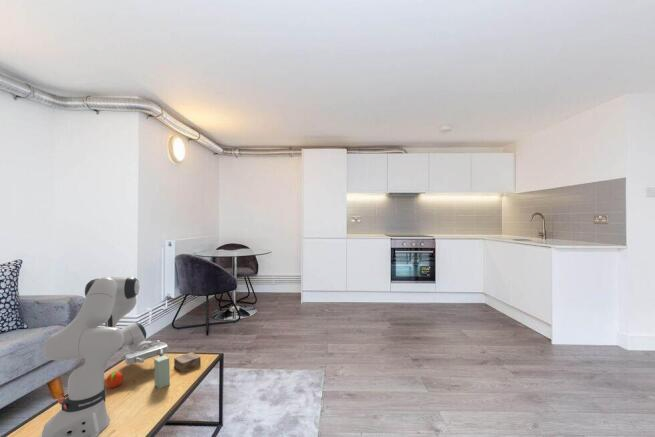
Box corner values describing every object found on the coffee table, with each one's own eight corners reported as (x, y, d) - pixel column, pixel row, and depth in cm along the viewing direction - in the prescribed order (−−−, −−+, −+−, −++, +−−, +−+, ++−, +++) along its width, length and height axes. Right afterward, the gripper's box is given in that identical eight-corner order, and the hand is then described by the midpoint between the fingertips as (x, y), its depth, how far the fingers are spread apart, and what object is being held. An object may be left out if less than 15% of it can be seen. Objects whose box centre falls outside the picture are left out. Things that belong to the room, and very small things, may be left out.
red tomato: (120, 390, 150) (119, 375, 150) (103, 392, 148) (102, 377, 148) (125, 381, 157) (124, 367, 157) (109, 384, 155) (108, 369, 155)
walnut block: (182, 371, 166) (182, 363, 166) (174, 366, 173) (174, 358, 173) (200, 364, 174) (200, 356, 174) (192, 359, 180) (192, 351, 180)
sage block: (158, 388, 151) (158, 361, 150) (154, 385, 154) (154, 358, 154) (169, 384, 154) (169, 358, 154) (165, 380, 158) (165, 355, 157)
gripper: (120, 351, 164) (129, 359, 155) (162, 338, 179) (172, 345, 170) (121, 363, 164) (129, 371, 155) (162, 349, 179) (172, 356, 170)
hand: (152, 357), depth 162 cm, fingers open, 8 cm apart
